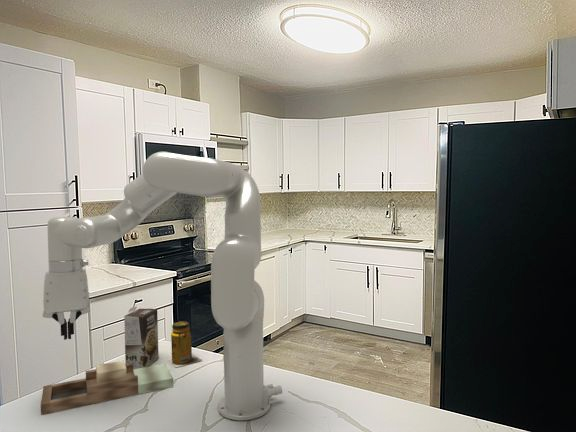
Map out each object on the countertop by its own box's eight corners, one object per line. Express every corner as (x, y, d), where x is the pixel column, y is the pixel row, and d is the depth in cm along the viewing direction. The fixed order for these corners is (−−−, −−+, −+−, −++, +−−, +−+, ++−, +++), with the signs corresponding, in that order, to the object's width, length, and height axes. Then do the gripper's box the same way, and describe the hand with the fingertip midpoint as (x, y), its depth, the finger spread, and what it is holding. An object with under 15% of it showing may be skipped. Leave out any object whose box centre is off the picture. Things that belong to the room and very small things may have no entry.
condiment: (167, 360, 134) (166, 322, 133) (192, 354, 139) (191, 317, 138) (176, 368, 128) (175, 328, 127) (202, 361, 133) (201, 323, 132)
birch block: (124, 374, 118) (123, 360, 118) (126, 383, 113) (126, 368, 112) (96, 379, 115) (95, 365, 114) (97, 389, 109) (97, 373, 109)
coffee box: (144, 370, 127) (142, 316, 126) (124, 368, 128) (123, 315, 127) (159, 358, 135) (158, 308, 135) (141, 357, 137) (139, 307, 136)
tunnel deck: (165, 371, 125) (164, 356, 125) (173, 386, 116) (172, 370, 115) (43, 395, 111) (43, 378, 111) (41, 415, 102) (40, 396, 101)
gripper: (97, 261, 114) (98, 329, 115) (32, 266, 107) (34, 337, 109) (99, 266, 108) (100, 338, 109) (29, 271, 101) (32, 347, 102)
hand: (67, 337), depth 109 cm, fingers closed
